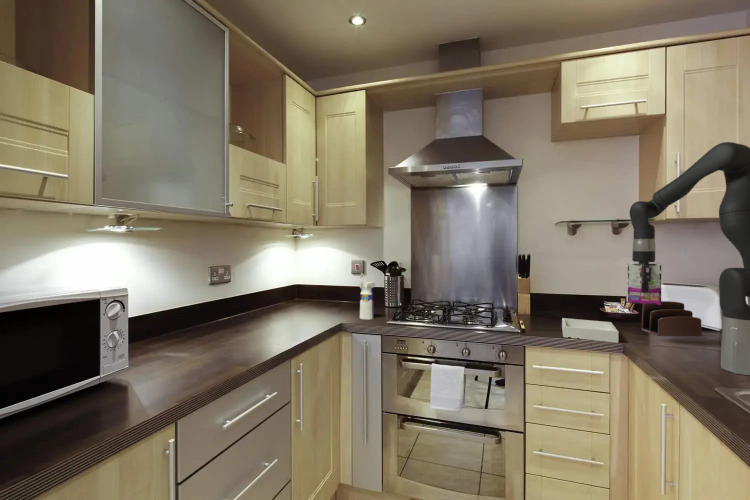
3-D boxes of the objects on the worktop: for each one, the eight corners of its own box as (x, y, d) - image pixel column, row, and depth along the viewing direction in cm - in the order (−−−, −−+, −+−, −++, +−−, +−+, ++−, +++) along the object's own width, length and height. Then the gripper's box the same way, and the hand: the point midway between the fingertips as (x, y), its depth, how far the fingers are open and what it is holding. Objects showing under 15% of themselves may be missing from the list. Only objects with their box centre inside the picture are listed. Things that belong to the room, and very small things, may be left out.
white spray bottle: (372, 320, 189) (373, 272, 189) (357, 319, 191) (357, 272, 191) (376, 316, 197) (376, 271, 197) (361, 316, 199) (361, 270, 199)
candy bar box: (658, 303, 148) (659, 263, 148) (661, 305, 143) (662, 264, 143) (625, 301, 153) (626, 262, 153) (627, 303, 149) (628, 263, 148)
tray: (618, 342, 148) (618, 331, 148) (563, 337, 157) (563, 326, 157) (610, 331, 166) (611, 322, 166) (562, 327, 175) (562, 318, 175)
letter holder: (641, 330, 169) (641, 300, 169) (682, 330, 170) (682, 300, 170) (658, 336, 159) (659, 304, 159) (702, 336, 160) (702, 304, 160)
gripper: (660, 250, 140) (659, 294, 140) (650, 250, 153) (650, 290, 153) (636, 250, 143) (635, 293, 143) (629, 249, 156) (628, 289, 156)
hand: (643, 291), depth 148 cm, fingers closed on candy bar box, 5 cm apart
